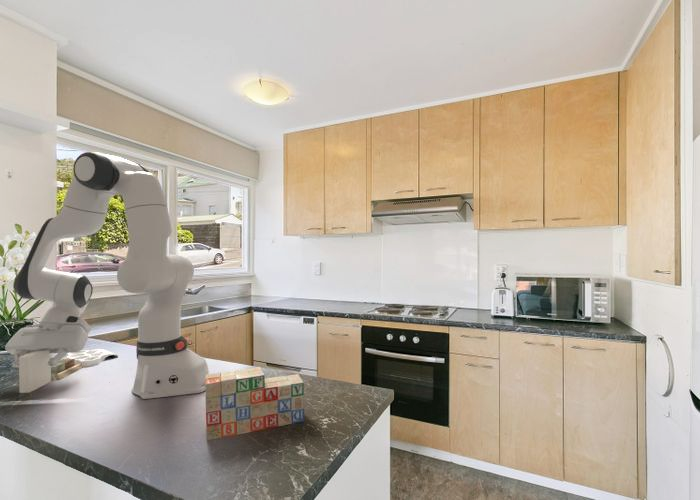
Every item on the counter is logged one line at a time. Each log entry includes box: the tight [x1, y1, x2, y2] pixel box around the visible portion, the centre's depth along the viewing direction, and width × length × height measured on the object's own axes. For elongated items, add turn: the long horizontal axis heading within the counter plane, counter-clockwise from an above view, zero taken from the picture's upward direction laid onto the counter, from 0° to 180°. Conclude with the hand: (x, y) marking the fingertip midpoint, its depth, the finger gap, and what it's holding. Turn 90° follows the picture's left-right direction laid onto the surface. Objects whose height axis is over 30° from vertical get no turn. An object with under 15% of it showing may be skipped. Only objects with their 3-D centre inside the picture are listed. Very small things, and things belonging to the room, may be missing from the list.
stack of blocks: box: [204, 366, 305, 441], centre depth 81 cm, size 21×6×12 cm, turn 111°
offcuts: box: [51, 358, 75, 380], centre depth 113 cm, size 8×4×4 cm, turn 5°
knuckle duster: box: [66, 348, 119, 368], centre depth 127 cm, size 3×18×15 cm
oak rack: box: [51, 364, 83, 381], centre depth 113 cm, size 10×10×4 cm
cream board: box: [18, 349, 52, 394], centre depth 102 cm, size 8×2×11 cm, turn 5°
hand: (33, 365), depth 101 cm, fingers open, 8 cm apart
